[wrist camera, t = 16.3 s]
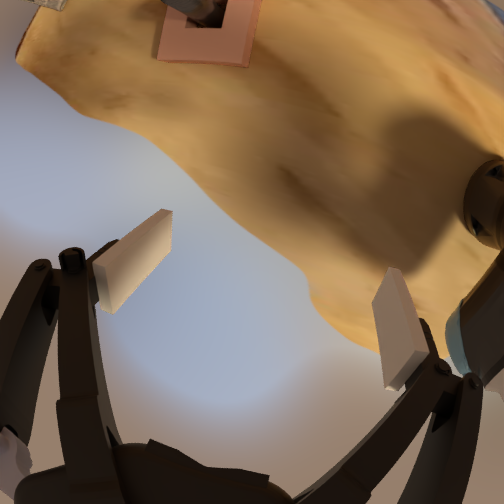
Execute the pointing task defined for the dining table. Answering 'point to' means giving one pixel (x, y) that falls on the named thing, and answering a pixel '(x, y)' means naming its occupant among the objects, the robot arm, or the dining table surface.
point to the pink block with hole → (211, 36)
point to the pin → (200, 11)
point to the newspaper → (50, 3)
